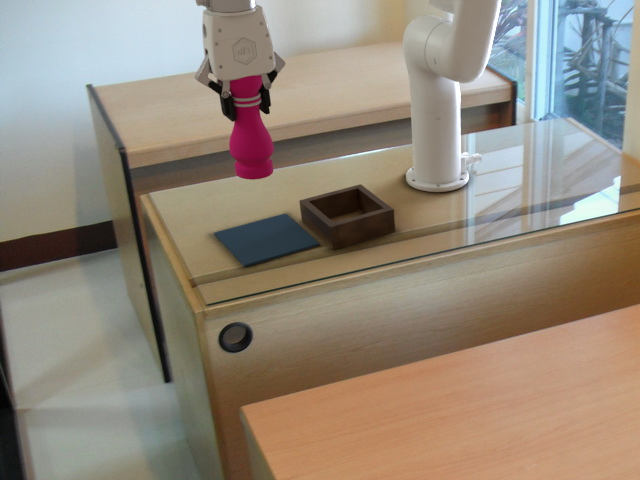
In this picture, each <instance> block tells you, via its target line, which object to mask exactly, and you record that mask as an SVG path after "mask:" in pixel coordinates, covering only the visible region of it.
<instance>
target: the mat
mask: <svg viewBox="0 0 640 480" xmlns="http://www.w3.org/2000/svg"><path fill="white" fill-rule="evenodd" d="M213 235H214V236H215V237H216V239H217V240H218V241H220V243H221V244H222V245H223V246H224V247H225V248H226V249H227V250H228V251H229V252H230V253H231V254H232V255H233V257H235V258H236V260H237V261H238V262H239V263H240V264H241V265H242V266H243V267H244V268H247V267H251V266H255V265H258V264H262V263H264V262H268V261H271V260H275V259H278V258H281V257H286V256H289V255H292V254H295V253H300V252H302V251H305V250H309V249H312V248H315V247H319V246H320V243H319V242H318V241H317V239H315V238H314V237H313V236H312V235H311V234H309V232H308V231H306V230H305V229H304V228H303V227H302V226H301V225H300V224H299V223H298V222H297V221H295V220H294V219H293V218H292V217H291V216H289V215H288V214H287V212H285V213H282V214H279V215H274V216H270V217H266V218H263V219H259V220H255V221H252V222H248V223H244V224H241V225H237V226H233V227H230V228H227V229H226V228H225V229H222V230H219V231H215V232H213Z"/></svg>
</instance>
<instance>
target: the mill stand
mask: <svg viewBox="0 0 640 480" xmlns="http://www.w3.org/2000/svg"><path fill="white" fill-rule="evenodd" d="M298 201H299V208H300V217H301V223H302V224H303V225H304V226H305V227H306V228H308V229H309V231H311V232H312V233H313V234H314V235H315V236H317V238H319V239H320V240H321V241H322V242H323V243H325V244H326V245H327V246H328V248H330V249H331V250H333V251H334V250H338V249H341V248H345V247H348V246H351V245H355V244H358V243H362V242H365V241H367V240H372V239H375V238H378V237H383V236H385V235H389V234H391V233H395V232H396V220H395V219H396V218H395V209H394V208H393V207H391V206H390V205H389V204H387V202H385V201H384V200H383V199H381V198H380V197H378V196H377V195H376V194H375V193H373V192H371V191H370V190H369V189H368V188H366V187H365V186H364V185H363V184H361V183H360V184H356V185H352V186H348V187H344V188H340V189H337V190H334V191H330V192H325V193H322V194H319V195H315V196H311V197H307V198H303V199H299V200H298ZM359 211H360V212H361V213H363V214H359V215H356V216H352V217H350V218H349V217H348V218H345V219H342V220H338V221H333V220H331V219H332V218H336V217H340V216H343V215H346V214H347V215H348V214H351V213H354V212H359Z"/></svg>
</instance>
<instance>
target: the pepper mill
mask: <svg viewBox="0 0 640 480" xmlns="http://www.w3.org/2000/svg"><path fill="white" fill-rule="evenodd" d="M261 86H262V76H261V75H258V76H247V77H243V78H240V79H237V80H231V81H230V92H229V93H230V96H231V97H233V100H234V107H235V113H236V121H233V127H232V130H231V134H230V137H229V142H228V146H229V154H230V155H231V157H232V158H233V159H234V160H235V162H234V171H235V175H236V176H237V177H238V178H240V179H244V180H253V181H254V180H262V179H266V178H268V177H270V176H272V174H273V173H274V163H273V162H274V161H272V159H271V157H272V156H273V154H274V151H275V145H274V142H273V139H272V136H271V134H270V133H269V131H268V129H267V127H266V125H265V124H264V122H263V119H262V116H261V110H259V104H260V103H261V98H260V96H261V94H260V92H258V90H259V89H260V88H261Z"/></svg>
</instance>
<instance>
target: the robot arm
mask: <svg viewBox="0 0 640 480" xmlns="http://www.w3.org/2000/svg"><path fill="white" fill-rule="evenodd" d="M424 1H425V2H426V3H427V4H428V5H430V6H432V7H433V8H435V9H438V10H441V11H443V12H446V13H449V14H452V15H453V17H452V18H453V19H452V20H449V19H445V18H443V17H440V16H436V15H429V14H425V15H420V16H417V17H415V18H413V19H412V20H411V21H410V22H409V23H408V25H407V26H406V28H405V30H404V32H403V38H402V53H403V57H404V62H405V67H406V70H407V76H408V77H407V78H408V84H409V98H410V120H411V122H410V123H411V124H410V125H411V144H412V145H411V146H412V147H411V148H412V167H410V168H409V169H408V170H407V171H406V173H405V180H406V183H407V184H408V185H409V186H411V187H412V188H414V189H416V190H419V191H423V192H429V193H445V192H451V191H454V190H455V191H456V190H458V189H460V188H463V187H464V186H465V185H466V184H467V183H468V182H469V179H470V178H469V176H470V175H469V170H467V169H468V168H469V166H471V165H477V164H480V163H481V162H482V161H483V159H482V156H481V154H480V153H473V154H469V152H468V151H465V152H462V151H461V150H462V147H461V146H462V145H461V143H462V140H461V137H462V136H461V90H460V84H470V83H473V82H475V81H477V80H478V79H479V78H480V77H481V76H482V74H483V73H484V71H485V70H486V67H487V64H488V62H489V59H490V55H491V51H492V48H493V42H494V37H495V34H496V28H497V24H498V19H499V15H500V9H501V4H502V3H501V2H502V0H424ZM195 3H196V6H197V7H204V8H205V9H203V11H202V21H201V24H202V25H201V26H202V47H203V55H204V56H203V57H204V58H203V60H202V61H201V64H200V66H199V68H198V69H197V71H196V73H195V74H194V79H195V80H196V81H197V82H198V83H200V84H202V85H204V86H206V87H207V88H209V89H211V90H212V91H213V92H215V93H216V94H217V95H219V102H220V108H221V113H222V115H223V116H224V117H226V118H227V119H228V120H229V121H230V122H232V123H234V121H236V113H235V107H234V100H233V97H231V96H230V93H231V92H230V81H231V80H237V79H240V78H243V77H247V76H258V75H261V76H262V86H261V88H260V89H259V90H258V92H260V94H261V96H260V98H261V103H260V104H259V110H260V112H262V113H263V114H264V115H270V113H271V112H270V107H272V102H271V100H272V99H271V95H270V89H272V87H273V86H272V84H273V83H274V81H275V80H276V79H277V77H278V74H279V73H281V71H282V70H283V69H284V67H286V61H285V60H284V59H283V58H282V57H281V56H280V55H279V54H278V53H277V52H276V51H275V50H274V46H273V41H272V37H271V36H272V35H271V32H270V28H269V25H268V20H267V18H266V14H265V11H264V8H263V6H261V5H259V4H257V0H195ZM209 74H212V75H213V76H214V78H216V81H215V80H213V79H211V78H210V77H209Z"/></svg>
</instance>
